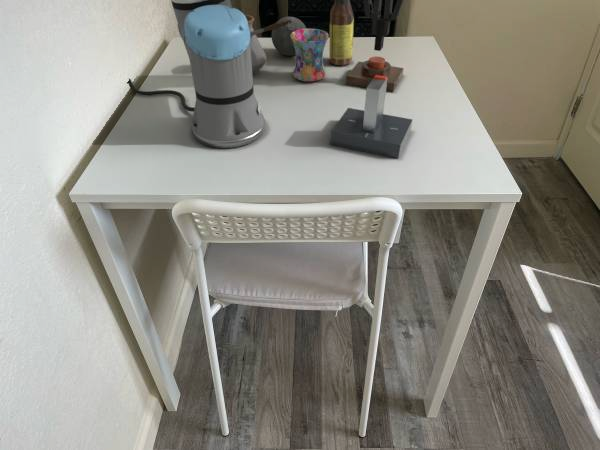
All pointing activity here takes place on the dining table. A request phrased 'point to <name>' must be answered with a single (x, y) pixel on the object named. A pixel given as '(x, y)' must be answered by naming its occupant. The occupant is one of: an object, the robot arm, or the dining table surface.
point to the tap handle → (374, 103)
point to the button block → (365, 75)
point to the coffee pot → (256, 50)
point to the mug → (309, 54)
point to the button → (376, 62)
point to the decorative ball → (286, 36)
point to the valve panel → (371, 134)
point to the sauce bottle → (341, 32)
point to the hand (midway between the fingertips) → (378, 48)
